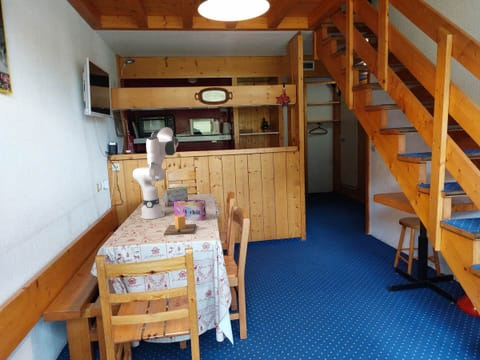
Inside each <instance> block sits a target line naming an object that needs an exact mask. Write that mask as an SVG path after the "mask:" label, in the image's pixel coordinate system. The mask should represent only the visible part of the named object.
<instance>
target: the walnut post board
mask: <svg viewBox="0 0 480 360" xmlns="http://www.w3.org/2000/svg"><path fill="white" fill-rule="evenodd" d="M185 224H186V223H185ZM196 227H197V223H187V224H186V228H185V229H176V228H175V224H169V225H168V227H166V229H165V231H164V232H163V236H177V235H178V236H179V235H193V234H194V232H195V231H196V230H195V229H196Z"/></svg>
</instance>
